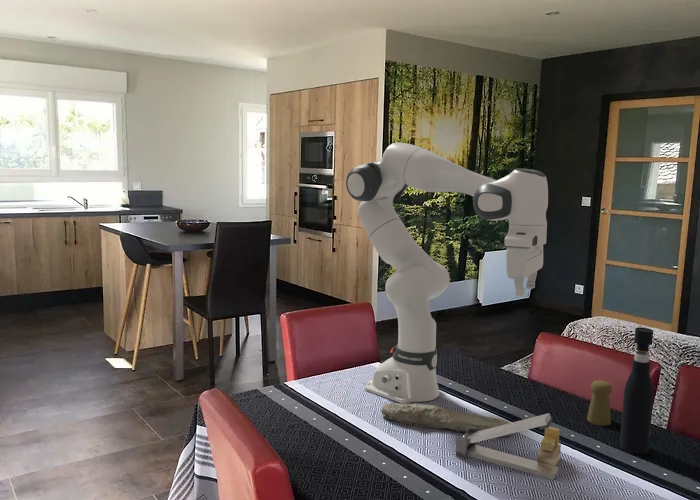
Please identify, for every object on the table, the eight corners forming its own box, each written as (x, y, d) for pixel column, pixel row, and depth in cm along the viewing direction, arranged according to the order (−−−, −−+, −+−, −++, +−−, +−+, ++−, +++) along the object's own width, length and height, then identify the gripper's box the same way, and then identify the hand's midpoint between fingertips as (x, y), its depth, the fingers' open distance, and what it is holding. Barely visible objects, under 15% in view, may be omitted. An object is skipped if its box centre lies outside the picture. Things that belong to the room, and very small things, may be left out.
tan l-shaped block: (539, 448, 135) (540, 433, 135) (545, 440, 140) (546, 425, 139) (553, 452, 134) (554, 437, 133) (558, 443, 138) (559, 428, 137)
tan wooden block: (537, 464, 136) (538, 450, 135) (544, 453, 141) (545, 439, 141) (553, 469, 134) (554, 454, 133) (559, 457, 139) (560, 443, 139)
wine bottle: (614, 442, 147) (624, 326, 143) (638, 441, 148) (649, 325, 143) (628, 455, 141) (639, 333, 136) (654, 454, 141) (665, 333, 137)
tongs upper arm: (460, 449, 140) (456, 439, 140) (468, 441, 144) (463, 431, 144) (547, 428, 128) (542, 417, 129) (553, 420, 132) (548, 409, 133)
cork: (613, 426, 156) (616, 387, 155) (589, 424, 157) (592, 385, 156) (608, 417, 162) (611, 378, 160) (585, 415, 163) (587, 377, 162)
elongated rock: (511, 449, 147) (513, 434, 156) (514, 429, 146) (515, 414, 155) (376, 421, 157) (385, 408, 166) (378, 402, 156) (387, 390, 166)
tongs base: (455, 455, 140) (456, 436, 139) (466, 443, 146) (467, 425, 145) (551, 483, 128) (553, 462, 127) (559, 469, 134) (561, 449, 133)
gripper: (525, 231, 154) (523, 283, 156) (502, 239, 137) (500, 298, 138) (550, 232, 151) (548, 285, 153) (529, 241, 133) (527, 301, 135)
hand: (525, 291), depth 145 cm, fingers open, 8 cm apart
